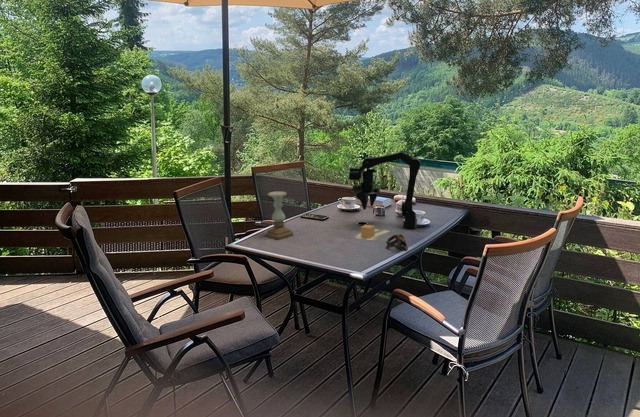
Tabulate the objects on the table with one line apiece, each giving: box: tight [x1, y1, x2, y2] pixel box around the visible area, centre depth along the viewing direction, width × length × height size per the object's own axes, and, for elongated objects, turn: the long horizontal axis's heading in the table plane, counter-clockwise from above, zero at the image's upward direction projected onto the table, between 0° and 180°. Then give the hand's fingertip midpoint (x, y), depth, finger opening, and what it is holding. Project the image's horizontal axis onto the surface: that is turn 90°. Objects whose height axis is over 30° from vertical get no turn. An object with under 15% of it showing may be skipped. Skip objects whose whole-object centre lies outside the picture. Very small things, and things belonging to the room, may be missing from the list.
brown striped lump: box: [385, 234, 408, 252], centre depth 236 cm, size 12×10×8 cm
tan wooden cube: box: [360, 224, 376, 239], centre depth 254 cm, size 5×5×6 cm
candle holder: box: [265, 190, 294, 241], centre depth 260 cm, size 11×11×24 cm
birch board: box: [352, 228, 391, 242], centre depth 258 cm, size 13×20×1 cm, turn 149°
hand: (368, 207), depth 270 cm, fingers open, 9 cm apart
